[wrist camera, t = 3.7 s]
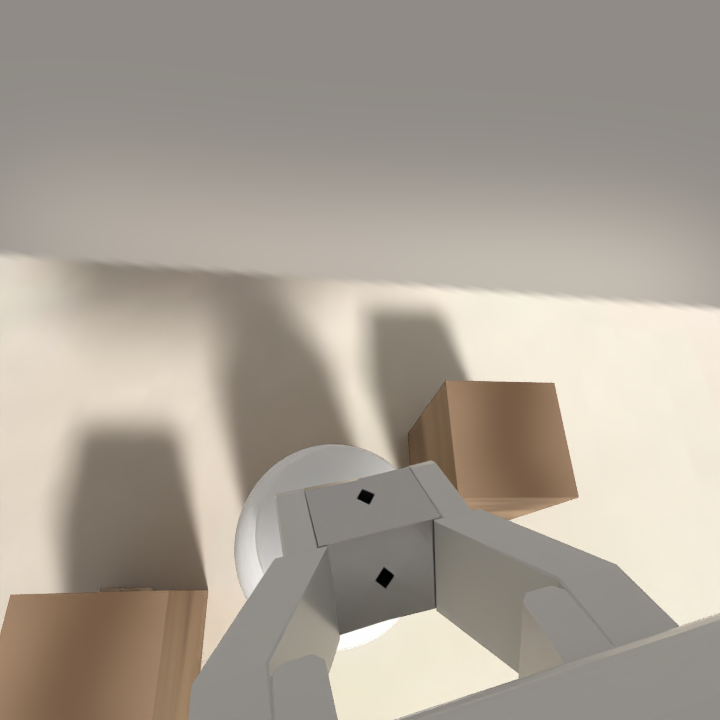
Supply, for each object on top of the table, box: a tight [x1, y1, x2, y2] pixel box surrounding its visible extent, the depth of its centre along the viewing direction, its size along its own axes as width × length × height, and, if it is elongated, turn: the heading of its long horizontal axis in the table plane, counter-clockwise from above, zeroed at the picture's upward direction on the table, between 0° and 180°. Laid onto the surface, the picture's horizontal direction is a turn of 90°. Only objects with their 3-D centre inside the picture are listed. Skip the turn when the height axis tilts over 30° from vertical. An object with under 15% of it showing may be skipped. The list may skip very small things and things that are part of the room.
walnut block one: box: [0, 587, 208, 720], centre depth 19 cm, size 5×5×8 cm
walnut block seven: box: [408, 381, 578, 520], centre depth 24 cm, size 5×5×8 cm
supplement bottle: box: [234, 444, 401, 651], centre depth 19 cm, size 7×7×13 cm
